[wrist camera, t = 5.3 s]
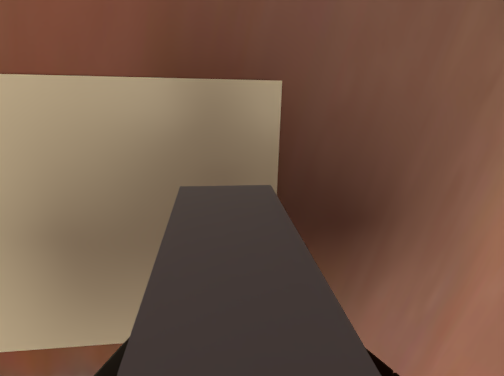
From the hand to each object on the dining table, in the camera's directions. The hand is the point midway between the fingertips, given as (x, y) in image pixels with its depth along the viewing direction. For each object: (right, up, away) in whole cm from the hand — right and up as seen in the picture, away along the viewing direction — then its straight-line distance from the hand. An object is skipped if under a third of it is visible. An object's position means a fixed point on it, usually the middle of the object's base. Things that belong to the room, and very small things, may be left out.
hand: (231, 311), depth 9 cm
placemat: (-5, +2, +6) cm, 8 cm away
